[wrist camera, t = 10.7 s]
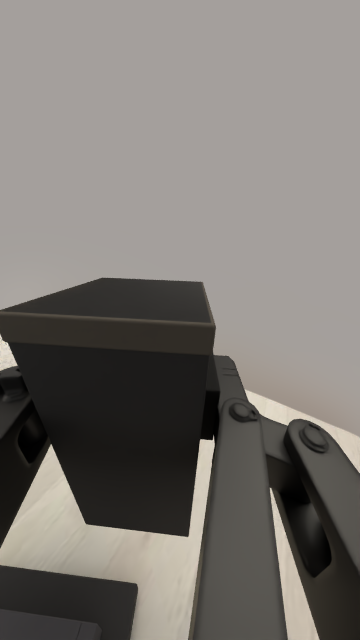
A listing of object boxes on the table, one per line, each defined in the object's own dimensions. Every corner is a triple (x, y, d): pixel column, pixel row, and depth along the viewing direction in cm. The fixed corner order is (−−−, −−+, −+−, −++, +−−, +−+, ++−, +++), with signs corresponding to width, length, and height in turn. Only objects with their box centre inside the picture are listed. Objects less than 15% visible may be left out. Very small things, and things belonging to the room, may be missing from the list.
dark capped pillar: (189, 539, 8) (216, 325, 4) (83, 525, 8) (-12, 312, 4) (190, 430, 12) (203, 281, 8) (123, 424, 13) (101, 277, 8)
